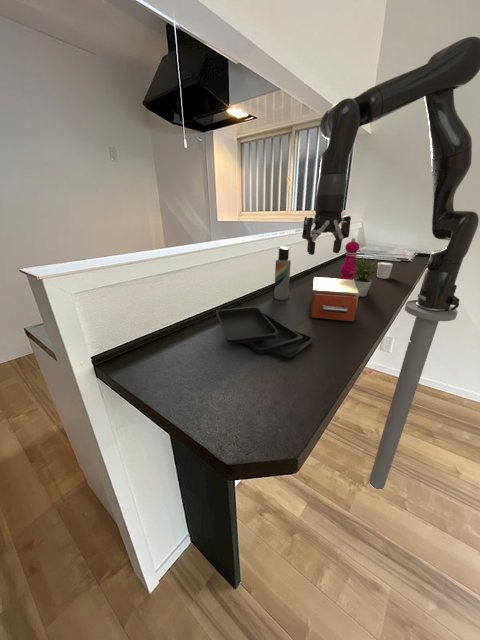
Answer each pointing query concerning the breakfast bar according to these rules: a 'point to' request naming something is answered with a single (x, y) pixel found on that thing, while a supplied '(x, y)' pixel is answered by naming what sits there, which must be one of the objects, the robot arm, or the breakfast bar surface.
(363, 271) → the house plant
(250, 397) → the breakfast bar surface
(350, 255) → the pepper mill
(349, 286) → the small drawer box
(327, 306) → the wooden drawer unit
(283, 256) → the lotion bottle
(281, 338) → the tray
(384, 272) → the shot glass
